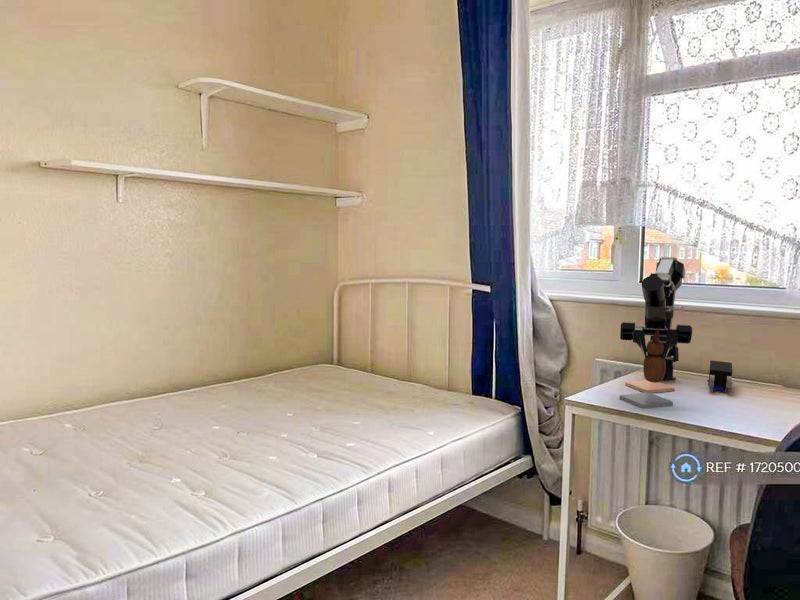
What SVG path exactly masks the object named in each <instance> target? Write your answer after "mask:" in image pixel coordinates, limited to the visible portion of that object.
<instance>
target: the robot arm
mask: <svg viewBox="0 0 800 600" xmlns="http://www.w3.org/2000/svg"><path fill="white" fill-rule="evenodd" d="M684 264H685V263H683V262H680V261H679V260H678V258H677V257H675V256H661V257H659V261H658V262H656V268H655V273H654V272H653V273H652V272H651V273H650V275H647V276H646V277H645V278H644V279H642V281H641V290H642V296H643V299H644V326H642V325H636V322H633V321H632V322H631V321H622V322H621V323H620V335H619V336H620V338H619V339H620V340H622V341H632V343H634V344H635V343H636V344H637V346H638V347H639V348H640V351H641V352H642V354H643V356H644V359H645V358H646V356H647V355H649V354H648V353H647V350H646V348H647V344H648V343H649V342H651V341H652V340H653V336H654V334H656V330H657V332H658V330H659V342H661V343H663V345H664V353H663V354H662V356H663V357H664V359H665V362H666V370H665V375H664V378H663V380H662V381H672V380H677V377H675V376H674V365H673V364H674V363H675V362H679V361H680V359H679V358H680V357H679V356H680V355H679V354H680V353H679V347H678V344H690V343H691V341H692V337H693V327H692V326H691V325H690V324H680V323H679V324H676V327H675V329H673V328H672V327H673V318H674V311H675V310H674V308H675V300H676V291H678V289H679V288H680V287H681V286H682V284H683V279H685V276H686V269H685V268H686V267H685V265H684ZM646 336H650V337H649V338H650V339H649V340H648V342H646Z"/></svg>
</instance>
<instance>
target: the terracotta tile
mask: <svg viewBox="0 0 800 600" xmlns="http://www.w3.org/2000/svg"><path fill="white" fill-rule="evenodd" d="M624 383H625V384H624V385H625V386H626V387H628V388H631V389H632V390H633V389H634V390H635V391H636V390H637V391H638V392H639V391H640V393H647V392H649V393H652V394H657V393H664V392H674V391H675V390H676V389H675V387H674V386H672V385H669V384H665V383H663V382H657V383H654V382H649V381H647V380H646V379H644V380H634V381H625V382H624Z"/></svg>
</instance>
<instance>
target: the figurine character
mask: <svg viewBox="0 0 800 600" xmlns="http://www.w3.org/2000/svg"><path fill="white" fill-rule="evenodd" d="M732 376H733V363H732V362H729V361H727V362H726V361H719V360H712V359H711V360H709V376H708V379H707V382H708V386H709V387H713V388H712V392H713V393H716V390H717V391H723V394H727V389H731V387H732V385H733V381H732V380H733V377H732Z"/></svg>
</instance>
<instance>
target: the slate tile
mask: <svg viewBox="0 0 800 600" xmlns="http://www.w3.org/2000/svg"><path fill="white" fill-rule="evenodd" d="M619 400H622V401H624V402H626V401H627V403H629V404H632V405H634V406H636V407H638V408H641V409H648V408H657V407H668V406H673V405H674V401H673V400H670V399H668V398H666V397H661V396H659V395H656V394H655V393H649V392H647V393H644V392H639V393H637V392H636V393H630V394H629V393H628V394H619Z"/></svg>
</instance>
